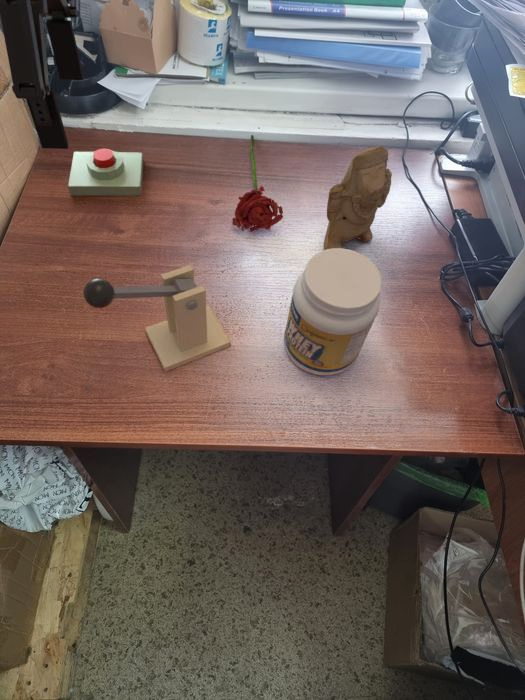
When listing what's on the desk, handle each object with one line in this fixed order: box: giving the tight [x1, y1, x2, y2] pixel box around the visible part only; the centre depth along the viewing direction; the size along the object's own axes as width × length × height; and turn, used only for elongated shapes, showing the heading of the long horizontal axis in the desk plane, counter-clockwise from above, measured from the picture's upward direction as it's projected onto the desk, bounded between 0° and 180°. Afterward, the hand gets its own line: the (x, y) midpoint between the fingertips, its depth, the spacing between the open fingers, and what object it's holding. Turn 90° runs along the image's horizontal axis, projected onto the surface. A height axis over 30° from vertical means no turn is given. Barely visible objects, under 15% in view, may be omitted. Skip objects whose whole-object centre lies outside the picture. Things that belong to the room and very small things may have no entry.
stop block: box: [67, 149, 144, 197], centre depth 96 cm, size 13×10×4 cm
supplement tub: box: [283, 247, 382, 376], centre depth 74 cm, size 12×12×17 cm
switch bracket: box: [144, 264, 232, 373], centre depth 74 cm, size 11×8×14 cm
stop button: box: [93, 147, 115, 168], centre depth 94 cm, size 4×4×2 cm
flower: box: [231, 134, 284, 233], centre depth 99 cm, size 9×10×30 cm
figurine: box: [323, 145, 393, 250], centre depth 85 cm, size 13×7×20 cm, turn 118°
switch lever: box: [83, 278, 198, 309], centre depth 66 cm, size 15×4×4 cm, turn 118°
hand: (64, 110), depth 59 cm, fingers open, 13 cm apart
